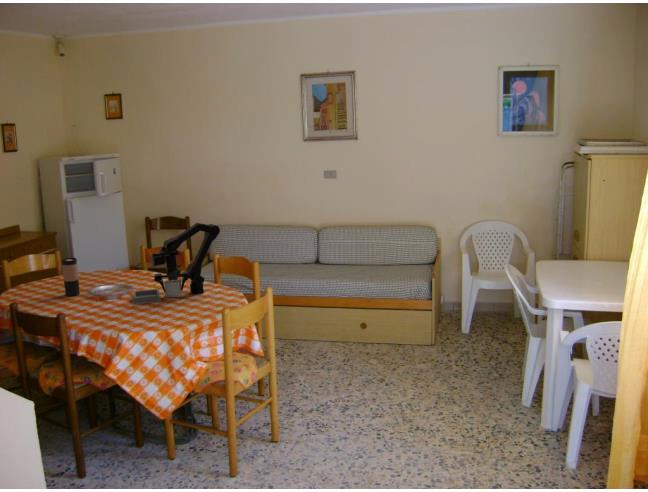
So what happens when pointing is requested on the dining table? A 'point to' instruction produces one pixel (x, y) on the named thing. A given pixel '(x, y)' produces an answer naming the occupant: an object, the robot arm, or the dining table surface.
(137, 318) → the dining table surface
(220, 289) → the dining table surface
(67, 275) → the travel mug
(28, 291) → the dining table surface
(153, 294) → the caddy
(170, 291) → the medicine box
